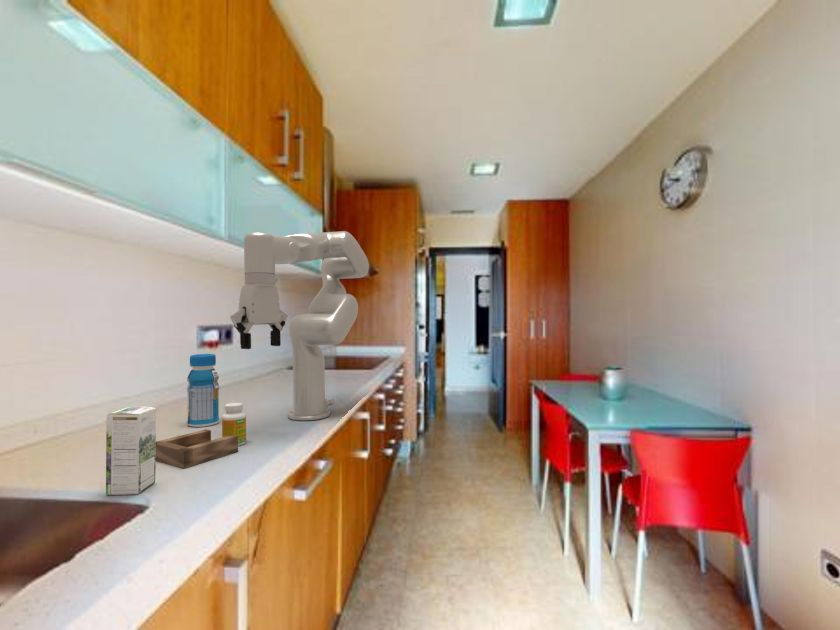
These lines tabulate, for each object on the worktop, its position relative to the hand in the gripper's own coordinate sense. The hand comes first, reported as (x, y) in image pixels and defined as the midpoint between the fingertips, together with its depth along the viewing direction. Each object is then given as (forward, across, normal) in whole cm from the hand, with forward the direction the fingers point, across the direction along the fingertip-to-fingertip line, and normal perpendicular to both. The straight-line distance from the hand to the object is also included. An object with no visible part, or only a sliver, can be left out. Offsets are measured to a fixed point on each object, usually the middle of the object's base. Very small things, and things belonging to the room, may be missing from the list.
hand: (261, 347), depth 116 cm
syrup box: (+23, +36, +8) cm, 44 cm away
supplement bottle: (+23, +9, 0) cm, 25 cm away
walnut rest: (+23, +19, 0) cm, 30 cm away
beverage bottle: (+23, 0, -25) cm, 34 cm away
